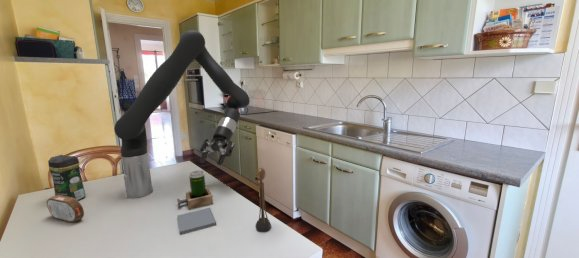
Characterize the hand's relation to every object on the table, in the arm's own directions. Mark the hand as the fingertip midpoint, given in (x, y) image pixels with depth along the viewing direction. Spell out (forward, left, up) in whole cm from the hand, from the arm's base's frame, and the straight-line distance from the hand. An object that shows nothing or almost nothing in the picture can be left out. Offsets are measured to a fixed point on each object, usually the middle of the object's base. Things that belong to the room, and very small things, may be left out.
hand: (210, 163), depth 106 cm
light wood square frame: (-8, -5, -13) cm, 16 cm away
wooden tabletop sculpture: (+9, -34, -13) cm, 38 cm away
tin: (-49, +5, -14) cm, 51 cm away
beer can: (-6, -5, -13) cm, 16 cm away
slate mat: (-9, -19, -13) cm, 25 cm away
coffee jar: (-52, +24, -13) cm, 59 cm away
